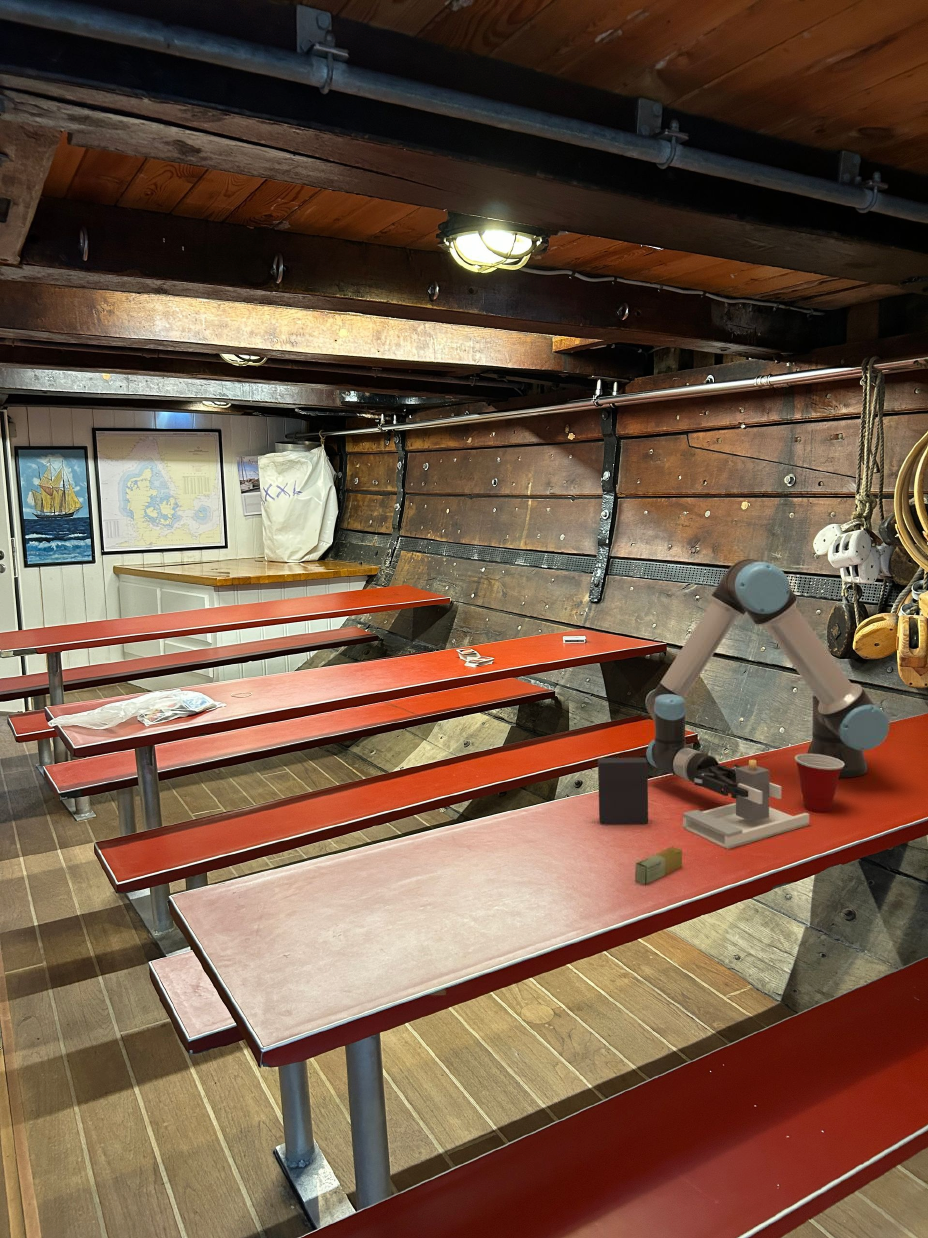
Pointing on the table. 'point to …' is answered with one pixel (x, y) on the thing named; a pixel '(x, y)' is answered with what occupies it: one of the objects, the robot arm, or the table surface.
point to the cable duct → (739, 825)
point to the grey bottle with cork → (757, 780)
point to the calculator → (623, 790)
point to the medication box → (658, 865)
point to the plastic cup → (818, 780)
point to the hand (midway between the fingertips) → (770, 795)
